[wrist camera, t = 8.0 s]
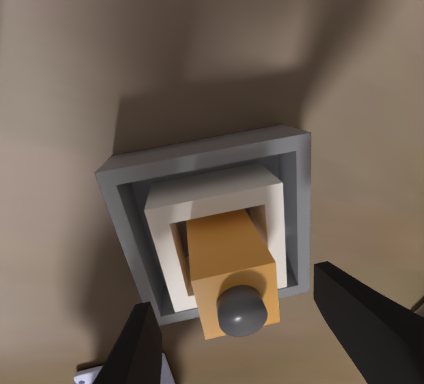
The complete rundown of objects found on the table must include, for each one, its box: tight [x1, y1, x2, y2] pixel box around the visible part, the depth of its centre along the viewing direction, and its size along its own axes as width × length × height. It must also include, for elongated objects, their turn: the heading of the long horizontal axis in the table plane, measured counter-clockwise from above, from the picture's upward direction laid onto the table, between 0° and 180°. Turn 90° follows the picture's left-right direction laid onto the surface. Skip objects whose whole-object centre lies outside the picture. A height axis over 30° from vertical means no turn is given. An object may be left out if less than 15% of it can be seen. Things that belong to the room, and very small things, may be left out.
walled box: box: [95, 124, 311, 326], centre depth 15 cm, size 11×11×4 cm
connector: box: [186, 209, 280, 340], centre depth 13 cm, size 4×4×8 cm
